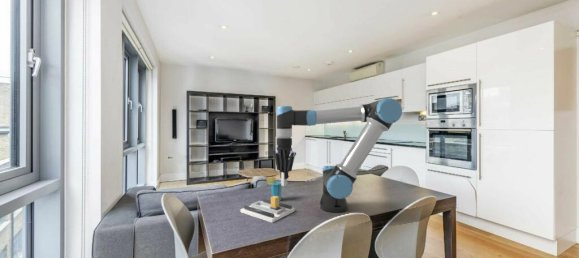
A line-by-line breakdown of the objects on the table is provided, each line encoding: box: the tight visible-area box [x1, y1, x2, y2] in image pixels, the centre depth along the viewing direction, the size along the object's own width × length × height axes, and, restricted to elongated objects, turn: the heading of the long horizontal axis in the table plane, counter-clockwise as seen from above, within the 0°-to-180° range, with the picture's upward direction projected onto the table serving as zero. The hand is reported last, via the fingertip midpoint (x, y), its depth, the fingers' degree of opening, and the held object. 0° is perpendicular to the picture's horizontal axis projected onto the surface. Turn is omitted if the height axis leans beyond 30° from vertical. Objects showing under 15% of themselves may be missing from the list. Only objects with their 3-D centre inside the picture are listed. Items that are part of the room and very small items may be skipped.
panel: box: [240, 198, 296, 223], centre depth 123 cm, size 22×18×3 cm
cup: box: [265, 175, 290, 202], centre depth 142 cm, size 14×8×15 cm, turn 104°
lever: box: [270, 196, 280, 210], centre depth 120 cm, size 4×3×7 cm
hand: (284, 185), depth 116 cm, fingers closed
